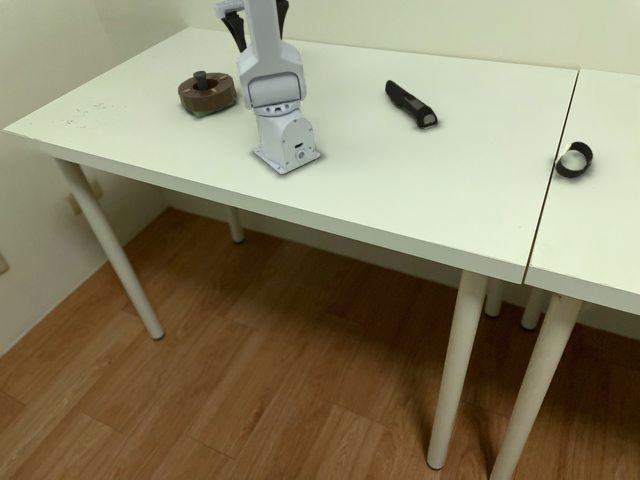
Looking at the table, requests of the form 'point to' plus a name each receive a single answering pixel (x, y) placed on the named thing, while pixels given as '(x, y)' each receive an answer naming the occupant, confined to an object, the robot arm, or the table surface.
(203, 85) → the rack
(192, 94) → the clock ring
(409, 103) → the electric trimmer
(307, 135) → the robot arm
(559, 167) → the watch
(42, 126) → the table surface
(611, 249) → the table surface
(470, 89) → the table surface
